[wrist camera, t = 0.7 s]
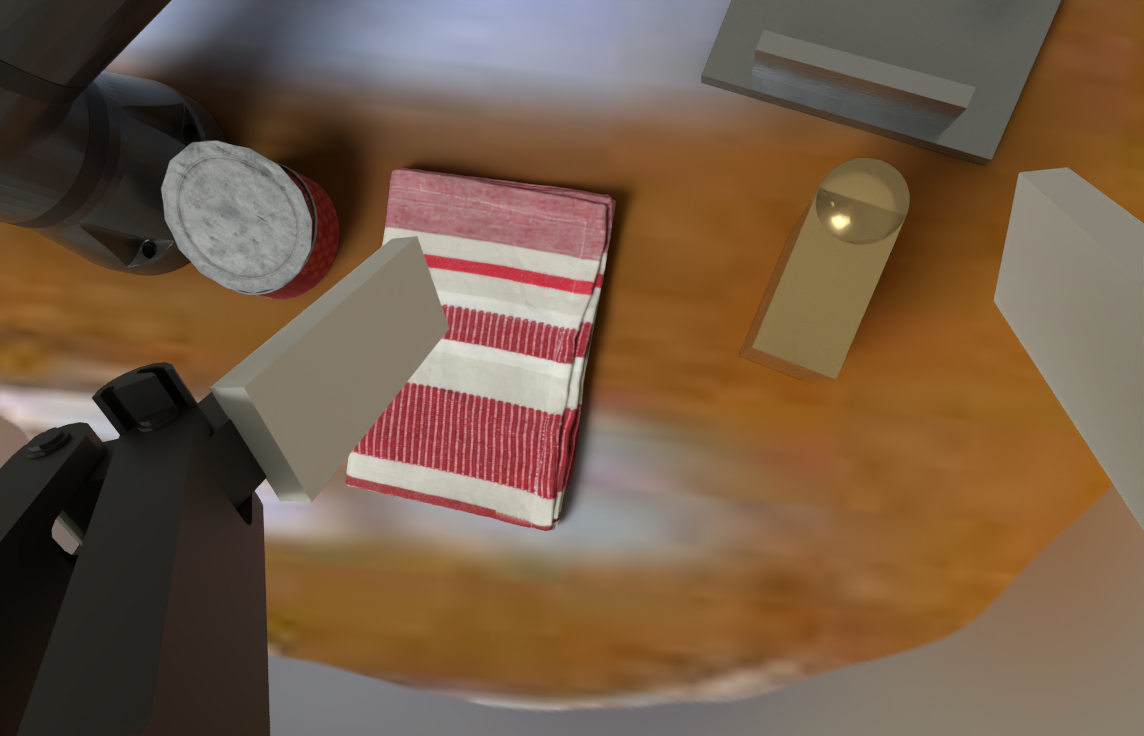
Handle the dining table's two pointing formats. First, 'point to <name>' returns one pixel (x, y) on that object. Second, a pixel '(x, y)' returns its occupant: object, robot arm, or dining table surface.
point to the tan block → (829, 271)
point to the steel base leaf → (887, 64)
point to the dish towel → (493, 346)
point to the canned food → (249, 220)
